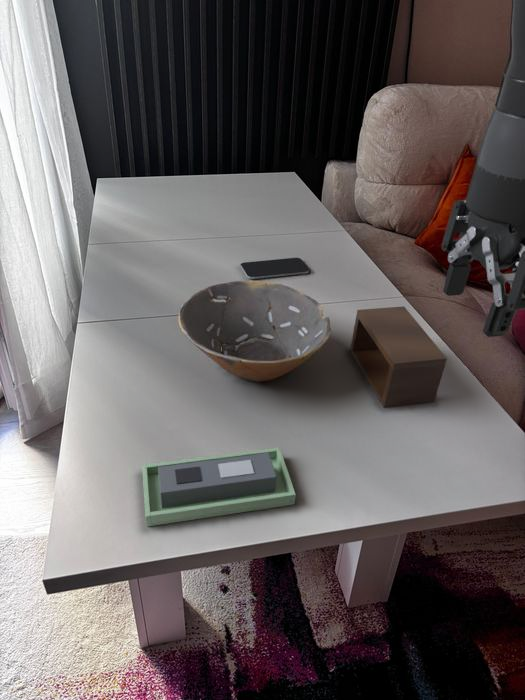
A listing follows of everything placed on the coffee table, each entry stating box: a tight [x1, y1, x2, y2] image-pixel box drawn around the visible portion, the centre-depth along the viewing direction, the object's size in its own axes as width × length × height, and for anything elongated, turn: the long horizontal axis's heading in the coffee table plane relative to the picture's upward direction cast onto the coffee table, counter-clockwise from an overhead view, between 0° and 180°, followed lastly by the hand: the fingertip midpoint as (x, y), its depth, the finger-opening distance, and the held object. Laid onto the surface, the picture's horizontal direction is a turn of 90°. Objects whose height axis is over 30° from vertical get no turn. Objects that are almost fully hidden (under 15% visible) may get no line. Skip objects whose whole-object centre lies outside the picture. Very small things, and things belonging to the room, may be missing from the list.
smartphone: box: [240, 257, 311, 280], centre depth 127 cm, size 7×1×15 cm
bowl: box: [178, 280, 332, 382], centre depth 95 cm, size 25×25×10 cm
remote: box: [158, 453, 277, 508], centre depth 73 cm, size 15×4×3 cm, turn 103°
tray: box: [141, 447, 297, 527], centre depth 74 cm, size 19×9×2 cm, turn 103°
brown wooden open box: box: [349, 305, 448, 408], centre depth 94 cm, size 16×9×9 cm, turn 13°
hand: (471, 313), depth 60 cm, fingers open, 8 cm apart
